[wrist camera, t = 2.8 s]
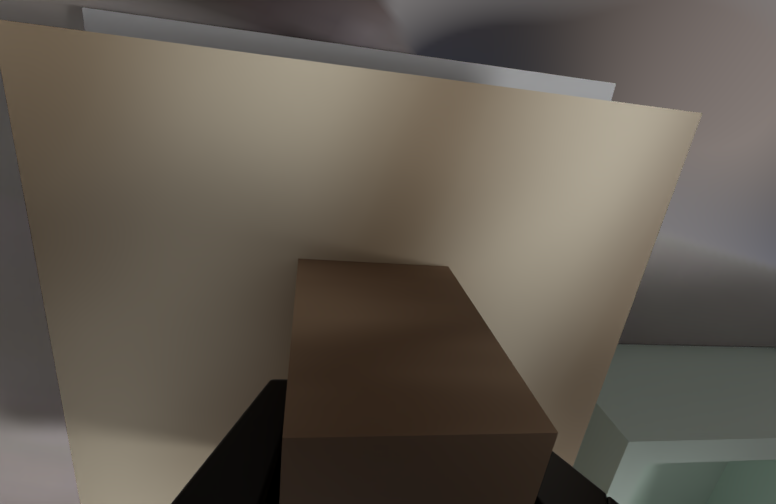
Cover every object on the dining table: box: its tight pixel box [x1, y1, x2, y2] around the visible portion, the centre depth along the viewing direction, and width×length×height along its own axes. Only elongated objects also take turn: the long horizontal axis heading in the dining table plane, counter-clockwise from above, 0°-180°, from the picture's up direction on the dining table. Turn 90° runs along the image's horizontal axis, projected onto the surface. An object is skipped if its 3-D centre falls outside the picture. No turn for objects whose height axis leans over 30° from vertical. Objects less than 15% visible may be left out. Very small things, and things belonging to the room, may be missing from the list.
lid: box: [0, 20, 702, 504], centre depth 8 cm, size 12×12×6 cm
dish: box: [573, 344, 776, 504], centre depth 16 cm, size 10×10×4 cm
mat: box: [82, 7, 616, 101], centre depth 13 cm, size 13×13×1 cm
